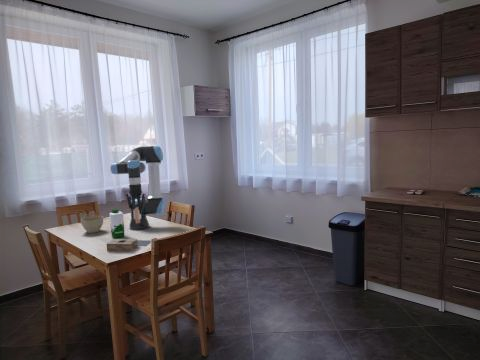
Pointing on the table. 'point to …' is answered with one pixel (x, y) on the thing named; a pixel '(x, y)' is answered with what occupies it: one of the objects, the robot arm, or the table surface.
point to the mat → (143, 242)
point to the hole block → (122, 245)
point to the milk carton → (117, 224)
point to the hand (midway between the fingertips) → (137, 218)
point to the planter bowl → (92, 223)
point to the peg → (136, 215)
